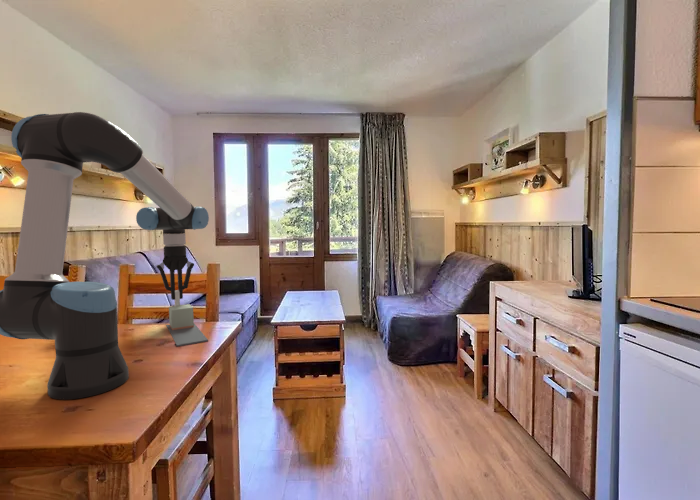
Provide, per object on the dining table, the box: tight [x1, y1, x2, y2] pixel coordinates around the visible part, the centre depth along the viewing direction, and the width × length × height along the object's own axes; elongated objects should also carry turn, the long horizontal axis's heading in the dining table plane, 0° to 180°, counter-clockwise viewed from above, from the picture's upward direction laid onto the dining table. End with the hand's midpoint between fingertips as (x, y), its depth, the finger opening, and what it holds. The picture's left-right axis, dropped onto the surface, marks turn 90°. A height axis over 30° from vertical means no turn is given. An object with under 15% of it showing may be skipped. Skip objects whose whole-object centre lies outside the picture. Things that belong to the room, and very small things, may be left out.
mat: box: [165, 323, 209, 348], centre depth 124 cm, size 28×9×1 cm, turn 33°
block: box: [168, 303, 195, 330], centre depth 131 cm, size 7×7×7 cm
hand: (177, 307), depth 137 cm, fingers closed
